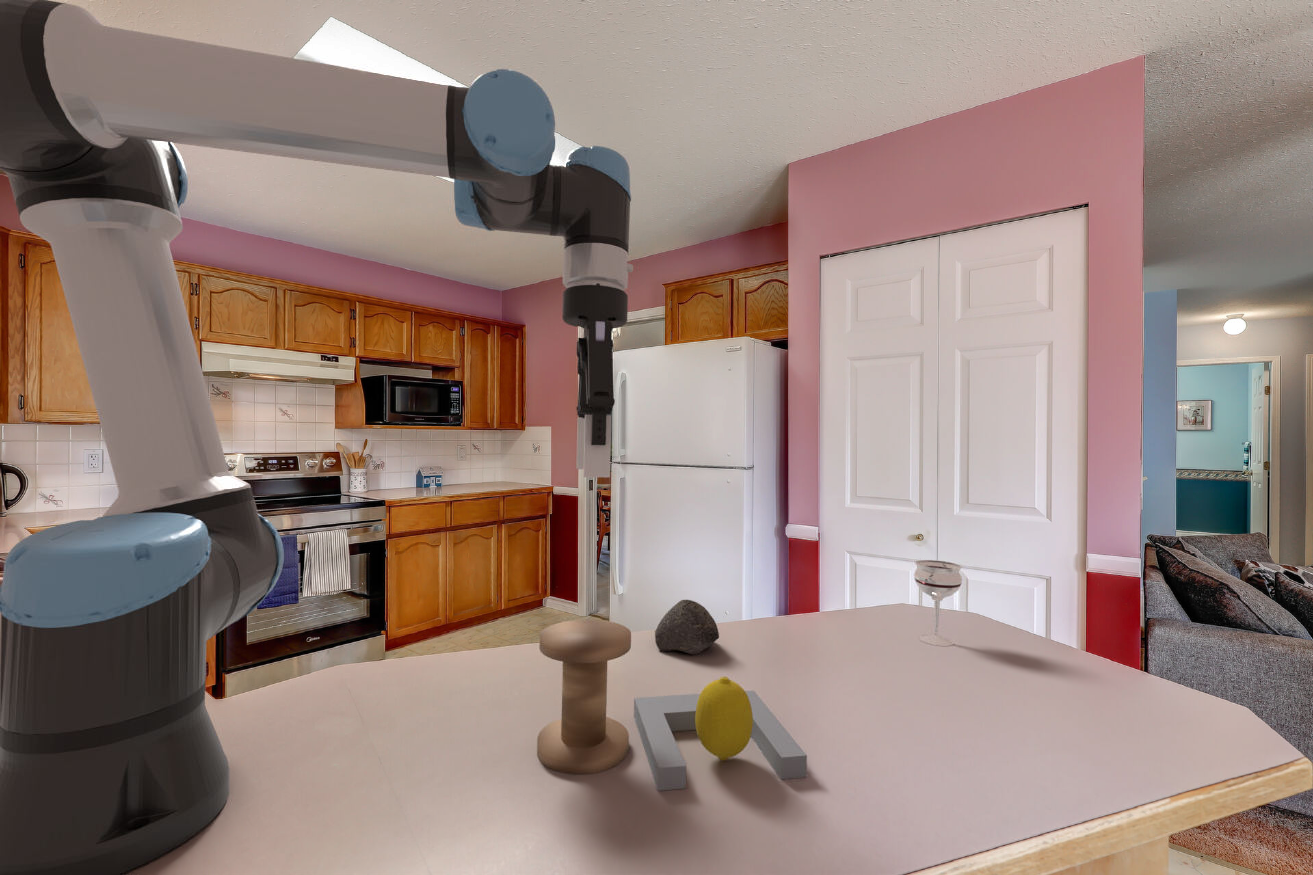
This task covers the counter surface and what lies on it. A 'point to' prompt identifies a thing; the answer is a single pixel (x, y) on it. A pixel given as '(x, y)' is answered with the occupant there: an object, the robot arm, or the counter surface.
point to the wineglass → (937, 589)
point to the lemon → (724, 718)
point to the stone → (686, 628)
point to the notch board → (679, 715)
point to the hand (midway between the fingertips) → (591, 473)
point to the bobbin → (584, 697)
